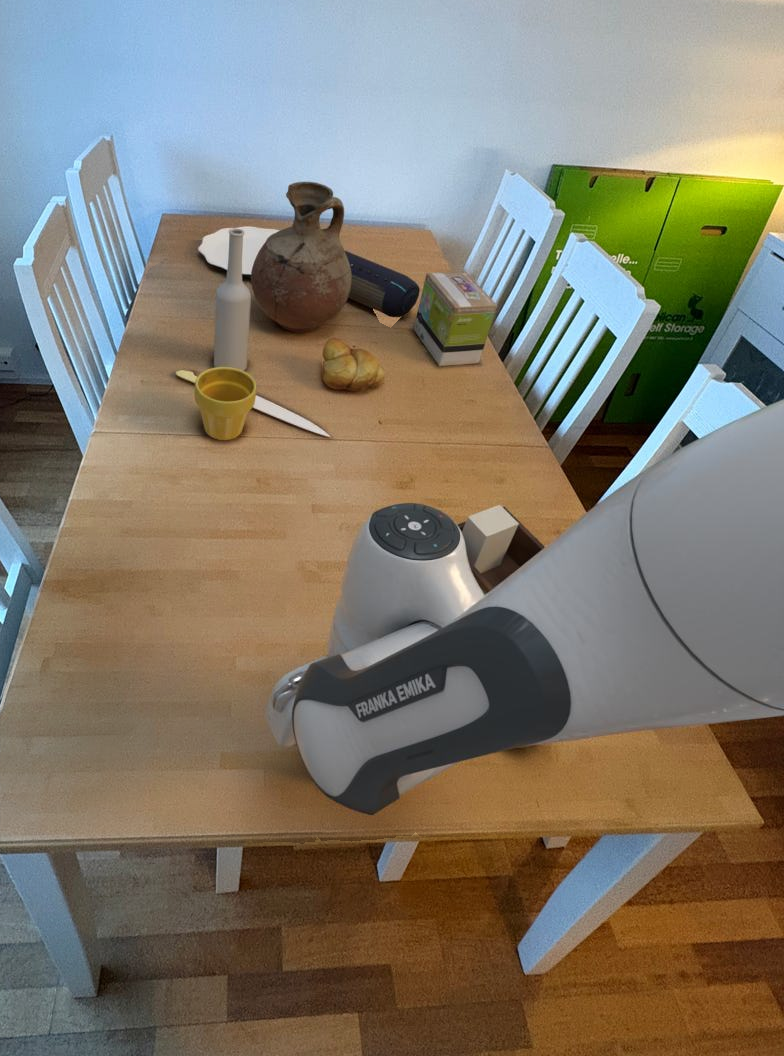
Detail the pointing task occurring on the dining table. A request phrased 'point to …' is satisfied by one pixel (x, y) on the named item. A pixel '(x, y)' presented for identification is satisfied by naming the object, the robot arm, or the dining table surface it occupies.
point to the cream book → (488, 537)
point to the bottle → (232, 310)
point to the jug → (304, 263)
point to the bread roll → (349, 367)
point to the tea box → (454, 318)
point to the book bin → (508, 558)
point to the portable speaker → (381, 287)
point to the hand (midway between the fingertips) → (353, 715)
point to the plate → (218, 247)
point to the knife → (269, 408)
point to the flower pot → (224, 400)
